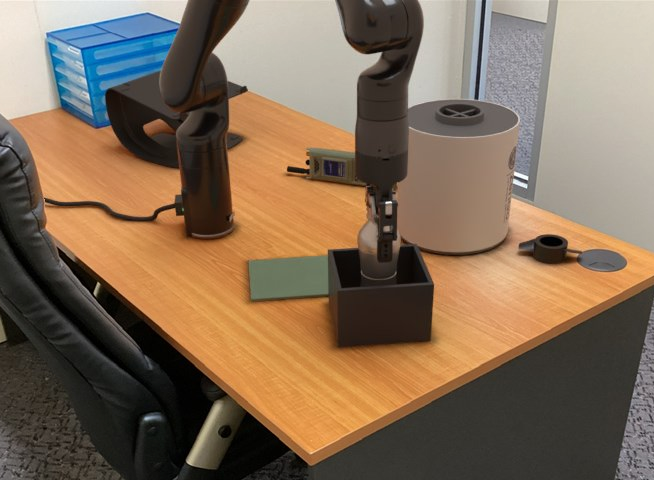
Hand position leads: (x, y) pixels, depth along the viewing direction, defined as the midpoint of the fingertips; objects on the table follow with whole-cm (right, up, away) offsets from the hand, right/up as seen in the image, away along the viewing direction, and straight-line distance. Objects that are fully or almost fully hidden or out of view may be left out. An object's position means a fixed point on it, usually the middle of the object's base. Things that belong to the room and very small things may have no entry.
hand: (379, 248), depth 128 cm
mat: (-11, -3, +20) cm, 23 cm away
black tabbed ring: (+33, +1, +24) cm, 41 cm away
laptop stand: (-41, +34, +77) cm, 93 cm away
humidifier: (+14, +7, +34) cm, 38 cm away
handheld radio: (-4, +21, +55) cm, 59 cm away
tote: (0, -11, +7) cm, 13 cm away
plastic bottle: (0, -11, +7) cm, 13 cm away
